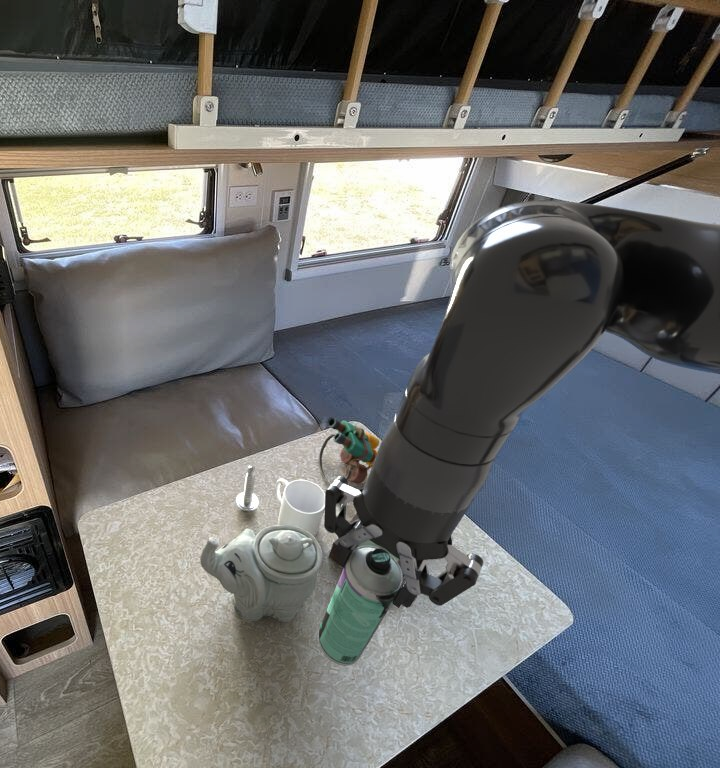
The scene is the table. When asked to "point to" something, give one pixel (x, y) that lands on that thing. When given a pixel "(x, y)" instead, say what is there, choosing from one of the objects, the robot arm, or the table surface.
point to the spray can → (359, 604)
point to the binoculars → (352, 449)
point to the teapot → (266, 570)
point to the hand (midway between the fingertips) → (370, 579)
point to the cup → (300, 504)
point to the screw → (248, 493)
